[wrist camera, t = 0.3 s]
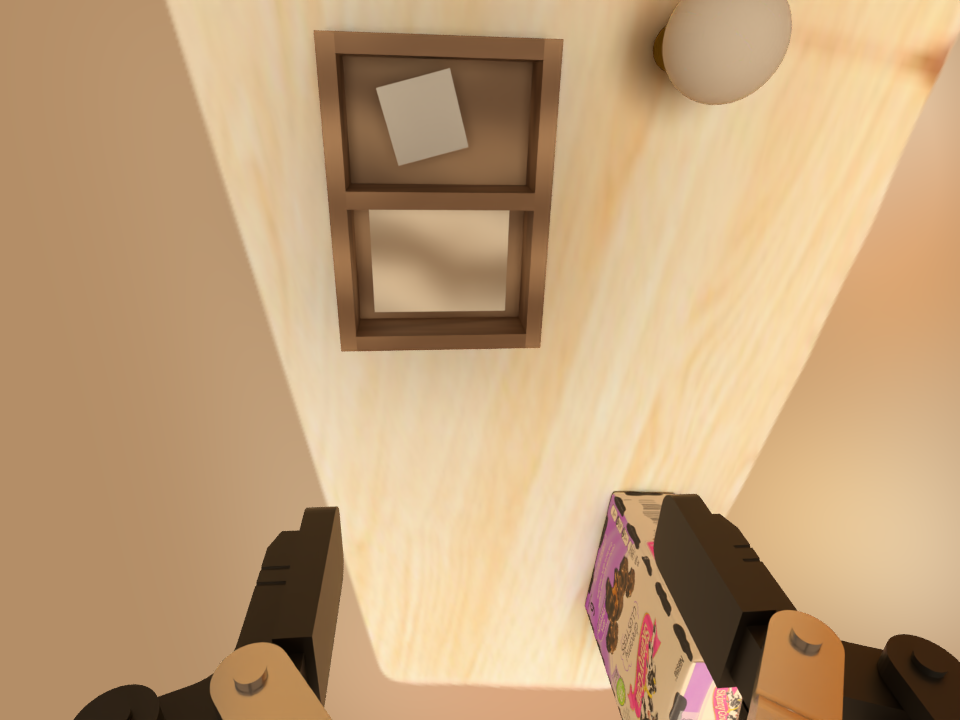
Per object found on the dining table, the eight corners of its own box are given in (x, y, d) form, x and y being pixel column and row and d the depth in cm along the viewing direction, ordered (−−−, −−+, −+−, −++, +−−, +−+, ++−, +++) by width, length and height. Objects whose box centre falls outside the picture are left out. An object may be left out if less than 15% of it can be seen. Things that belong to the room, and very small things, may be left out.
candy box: (610, 489, 49) (693, 662, 35) (675, 490, 50) (783, 660, 35) (582, 605, 55) (642, 796, 40) (640, 605, 56) (721, 792, 41)
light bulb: (684, 116, 37) (771, 126, 28) (604, 77, 35) (669, 74, 26) (734, 18, 35) (845, -5, 26) (651, -28, 33) (738, -70, 24)
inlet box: (324, 36, 33) (313, 30, 29) (548, 44, 34) (563, 39, 31) (347, 328, 41) (341, 351, 37) (529, 325, 42) (540, 347, 38)
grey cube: (380, 87, 34) (375, 88, 30) (446, 69, 34) (449, 68, 30) (400, 157, 35) (398, 165, 32) (463, 140, 35) (468, 147, 32)
